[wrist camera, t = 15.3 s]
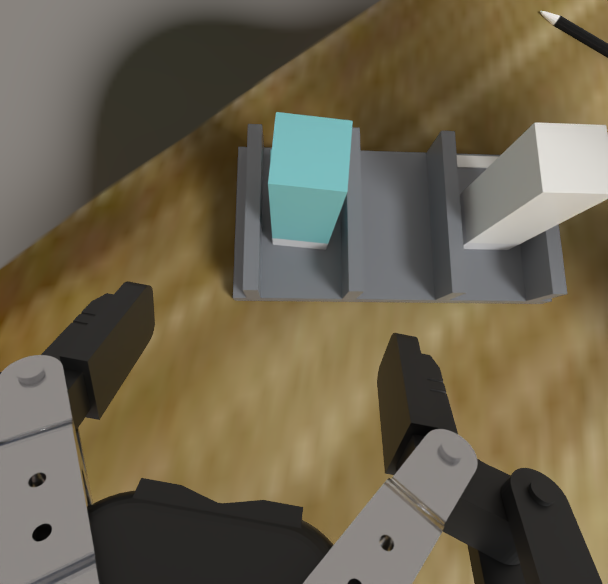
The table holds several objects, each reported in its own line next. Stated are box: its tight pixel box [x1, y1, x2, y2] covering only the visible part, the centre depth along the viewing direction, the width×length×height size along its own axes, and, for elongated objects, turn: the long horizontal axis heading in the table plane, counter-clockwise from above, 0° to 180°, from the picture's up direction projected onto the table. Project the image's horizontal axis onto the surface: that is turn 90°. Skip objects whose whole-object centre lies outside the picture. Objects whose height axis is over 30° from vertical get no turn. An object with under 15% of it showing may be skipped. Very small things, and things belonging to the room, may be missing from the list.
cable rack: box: [233, 124, 567, 304], centre depth 29 cm, size 24×12×4 cm, turn 90°
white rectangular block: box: [460, 123, 608, 250], centre depth 26 cm, size 4×4×10 cm
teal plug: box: [268, 112, 353, 250], centre depth 25 cm, size 4×4×10 cm
